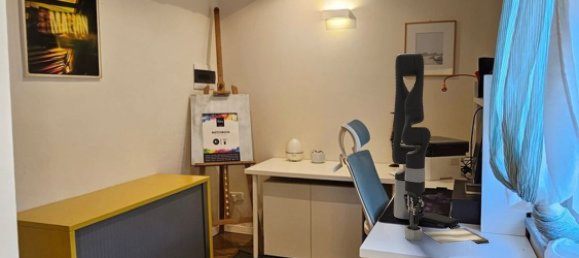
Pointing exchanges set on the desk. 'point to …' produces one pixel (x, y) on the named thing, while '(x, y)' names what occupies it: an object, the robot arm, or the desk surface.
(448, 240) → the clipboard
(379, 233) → the desk surface
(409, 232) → the pen cup
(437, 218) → the carrying case or bag
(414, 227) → the marker
